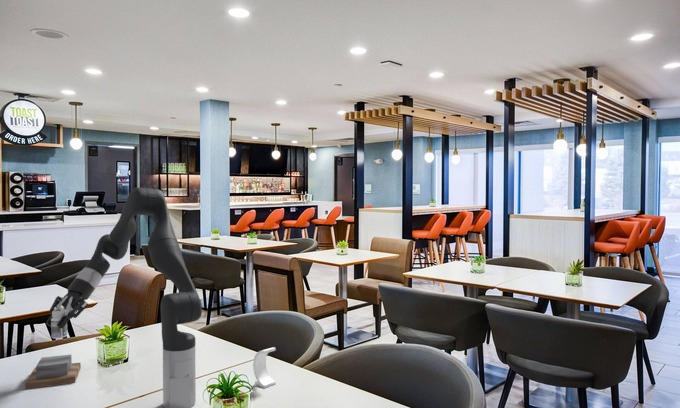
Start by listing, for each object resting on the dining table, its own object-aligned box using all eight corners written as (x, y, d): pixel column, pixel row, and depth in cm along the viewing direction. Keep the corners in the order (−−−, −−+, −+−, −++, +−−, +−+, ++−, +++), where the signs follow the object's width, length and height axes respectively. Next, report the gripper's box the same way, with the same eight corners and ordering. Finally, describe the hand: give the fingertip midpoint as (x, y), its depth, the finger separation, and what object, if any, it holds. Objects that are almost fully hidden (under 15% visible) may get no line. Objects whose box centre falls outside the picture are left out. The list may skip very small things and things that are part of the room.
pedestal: (75, 382, 159) (75, 364, 159) (25, 388, 154) (25, 370, 154) (80, 368, 172) (80, 351, 172) (34, 373, 167) (34, 356, 167)
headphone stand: (264, 388, 155) (264, 351, 155) (253, 382, 160) (253, 347, 159) (275, 384, 159) (275, 347, 158) (264, 379, 163) (264, 343, 163)
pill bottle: (64, 333, 166) (63, 309, 165) (69, 336, 163) (69, 311, 162) (49, 336, 162) (48, 312, 162) (54, 339, 159) (53, 314, 159)
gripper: (64, 275, 171) (31, 317, 161) (93, 279, 166) (60, 322, 155) (78, 287, 176) (46, 329, 166) (106, 291, 171) (75, 334, 160)
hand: (53, 325), depth 160 cm, fingers closed on pill bottle, 4 cm apart
